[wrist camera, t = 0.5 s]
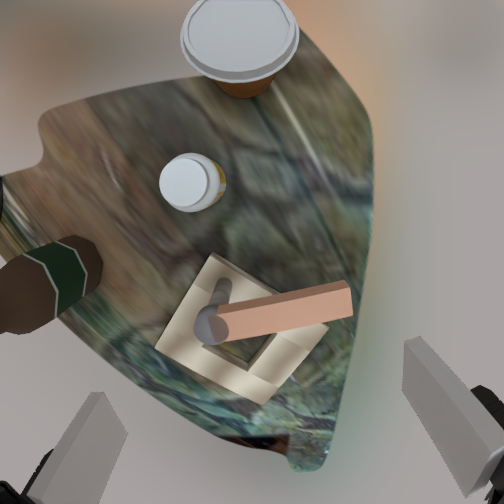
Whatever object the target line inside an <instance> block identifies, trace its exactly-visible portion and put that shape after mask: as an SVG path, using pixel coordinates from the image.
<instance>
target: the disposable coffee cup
mask: <svg viewBox="0 0 504 504" xmlns="http://www.w3.org/2000/svg"><path fill="white" fill-rule="evenodd" d="M180 42H181V48H182V51H183V54H184V56H185V57H186V59H187V61H188V62H189V63H190V64H191V65H192V66H193V68H194V69H195V70H197V71H199V72H200V73H201V74H203V75H205V76H206V77H209V78H211V79H212V80H213V81H214V82H215V83H216V84H217V85H218V86H219V87H220V88H221V89H222V90H223V91H224V92H225V93H227V94H228V95H230V96H233V97H236V98H251V97H254V96H257V95H259V94H261V93H262V92H263V91H265V90H266V89H267V88H268V86H269V84H270V83H271V81H272V80H273V78H274V76H275V75H276V73H277V72H278V71H279V70H280V69H281V68H283V67H284V66H285V65H286V64H287V63H288V62H289V61H290V59H291V58H292V56H293V54H294V53H295V51H296V49H297V45H298V42H299V29H298V24H297V21H296V19H295V17H294V15H293V14H292V12H291V11H290V10H289V8H288V7H287V5H286V4H285V3H284V2H283V1H282V0H199V1H198V2H197V3H196V4H195V5H194V6H193V7H192V8H191V10H190V11H189V13H188V14H187V16H186V18H185V21H184V24H183V26H182V30H181V34H180Z"/></svg>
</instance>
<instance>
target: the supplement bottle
mask: <svg viewBox="0 0 504 504" xmlns="http://www.w3.org/2000/svg"><path fill="white" fill-rule="evenodd" d="M159 186H160V191H161V193H162V195H163V197H164V198H165V199H166V200H167V201H168V202H169V204H170V205H172V206H173V207H174V208H176V209H178V210H180V211H184V212H197V211H200V210H203V209H205V208H207V207H209V206H211V205H213V204H214V203H216V202H217V201H218V200H219V199H220V198H221V197H222V196H223V194H224V192H225V189H226V176H225V173H224V171H223V170H222V168H221V167H220V166H219V165H218V164H217V163H216V162H215V161H213V160H211V159H209V158H207V157H205V156H203V155H201V154H197V153H186V154H182V155H179V156H177V157H175V158H174V159H173V160H171V161H170V162H169V163H168V164H167V165H166V166H165V168H164V169H163V171H162V173H161V175H160V180H159Z"/></svg>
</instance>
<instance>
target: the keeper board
mask: <svg viewBox="0 0 504 504" xmlns="http://www.w3.org/2000/svg"><path fill="white" fill-rule="evenodd" d="M276 294H281V293H279V292H277V291H276V290H274V289H272V288H271V287H269V286H267V285H266V284H264V283H263V282H261V281H259V280H258V279H256V278H254V277H253V276H251V275H250V274H248V273H246V272H245V271H243V270H242V269H240V268H238V267H237V266H235V265H233V264H232V263H230V262H229V261H227V260H225V259H224V258H222V257H221V256H219V255H217V254H216V253H214V252H213V251H212V253H211V255H210V256H209V258H208V260H207V261H206V263H205V264H204V266H203V268H202V269H201V271H200V272H199V274H198V276H197V277H196V279H195V281H194V282H193V284H192V286H191V287H190V289H189V290H188V292H187V294H186V295H185V297H184V299H183V300H182V302H181V304H180V305H179V307H178V309H177V310H176V312H175V314H174V315H173V317H172V319H171V320H170V322H169V324H168V325H167V327H166V329H165V331H164V332H163V334H162V336H161V337H160V339H159V341H158V343H157V344H156V346H155V349H157V350H159V351H160V352H162V353H164V354H165V355H167V356H169V357H170V358H172V359H174V360H175V361H177V362H179V363H181V364H182V365H184V366H186V367H188V368H190V369H191V370H193V371H195V372H197V373H199V374H200V375H202V376H204V377H206V378H208V379H210V380H212V381H214V382H216V383H217V384H219V385H221V386H223V387H225V388H227V389H229V390H231V391H233V392H235V393H237V394H239V395H241V396H244V397H246V398H248V399H250V400H252V401H254V402H256V403H258V404H261V405H264V404H265V402H266V401H267V400H268V399H269V398H270V397H271V396H272V395H273V394H274V393H275V392H276V390H277V389H278V388H279V387H280V386H281V385H282V384H283V383H284V382H285V380H286V379H287V378H288V377H289V376H290V375H291V374H292V372H293V371H294V370H295V369H296V368H297V367H298V366H299V364H300V363H301V362H302V361H303V360H304V358H305V357H306V356H307V355H308V354H309V352H310V351H311V350H312V349H313V348H314V346H315V345H316V344H317V343H318V342H319V340H320V339H321V338H322V337H323V335H324V334H325V333H326V332H327V330H328V329H329V327H328V324H327V322H323V323H319V324H314V325H310V326H305V327H300V328H296V329H291V330H286V331H281V332H276V333H271V334H270V336H269V337H268V338H267V340H266V341H265V342H264V343H263V345H262V346H261V347H260V349H259V350H258V351H257V352H256V354H255V355H254V356H253V357H252V359H251V360H250V361H249V363H247V362H245V361H243V360H241V359H239V358H237V357H235V356H234V355H232V354H230V353H228V352H226V351H224V350H223V349H221V348H219V347H217V346H215V345H214V346H211V345H206V344H204V343H202V342H200V341H199V340H198V339H197V338H196V336H195V334H194V331H193V326H194V322H195V320H196V318H197V315H198V313H199V311H200V310H201V309H202V308H203V307H205V306H207V305H218V306H219V305H225V304H230V303H235V302H241V301H246V300H251V299H256V298H261V297H266V296H271V295H276Z"/></svg>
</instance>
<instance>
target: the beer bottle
mask: <svg viewBox="0 0 504 504" xmlns="http://www.w3.org/2000/svg"><path fill="white" fill-rule="evenodd" d="M102 264H103V263H102V261H101V259H100V257H99V255H98V253H97V251H96V249H95V247H94V244H93V243H91V242H89V241H86V240H84V239H82V238H79V237H77V236H75V235H74V236H70V237H66V238H63V239H60V240H58V241H55V242H52V243H50V244H47V245H44V246H42V247H39V248H36V249H34V250H31V251H29V252H26V253H24V254H21V255H19V256H18V257H16V258H14V259H12V260H11V261H9V262H8V263H7V264H6V265H5V266H3V267H2V268H1V269H0V334H2V333H4V332H9V333H14V334H18V335H19V334H26V333H30V332H32V331H34V330H36V329H38V328H40V327H41V326H43V325H45V324H47V323H48V322H50V321H51V320H53V319H55V318H56V317H57V316H59V315H60V314H61V313H63V312H64V311H65V310H66V309H68V308H69V307H70V306H72V305H73V304H74V303H76V302H77V301H78V300H80V299H81V298H82V297H84V296H85V295H86V294H88V293H89V292H90V291H92V290H93V289H94V288H95V287H96V286H98V285H99V280H100V275H101V269H102Z"/></svg>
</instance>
